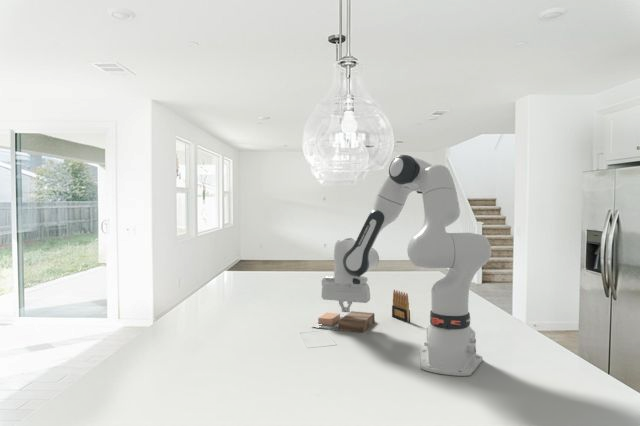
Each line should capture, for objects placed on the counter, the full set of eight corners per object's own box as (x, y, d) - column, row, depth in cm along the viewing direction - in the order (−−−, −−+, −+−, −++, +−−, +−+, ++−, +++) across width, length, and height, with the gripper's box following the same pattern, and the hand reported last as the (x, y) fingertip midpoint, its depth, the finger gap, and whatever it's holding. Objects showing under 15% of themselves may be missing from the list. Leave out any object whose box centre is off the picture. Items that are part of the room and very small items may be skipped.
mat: (337, 330, 161) (337, 329, 161) (311, 327, 165) (311, 326, 165) (352, 318, 177) (352, 317, 177) (328, 316, 182) (328, 315, 182)
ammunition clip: (410, 322, 171) (409, 293, 170) (406, 322, 170) (406, 293, 170) (395, 316, 180) (394, 288, 180) (391, 316, 180) (391, 289, 179)
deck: (362, 332, 158) (362, 323, 158) (338, 329, 162) (338, 320, 162) (374, 321, 172) (374, 313, 172) (351, 319, 176) (351, 311, 176)
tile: (318, 317, 169) (318, 323, 169) (331, 319, 167) (332, 325, 167) (326, 312, 177) (326, 318, 177) (339, 313, 175) (339, 319, 175)
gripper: (318, 278, 170) (319, 311, 170) (366, 280, 162) (367, 315, 162) (324, 275, 176) (325, 307, 176) (371, 278, 168) (371, 312, 168)
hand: (345, 311), depth 169 cm, fingers closed
